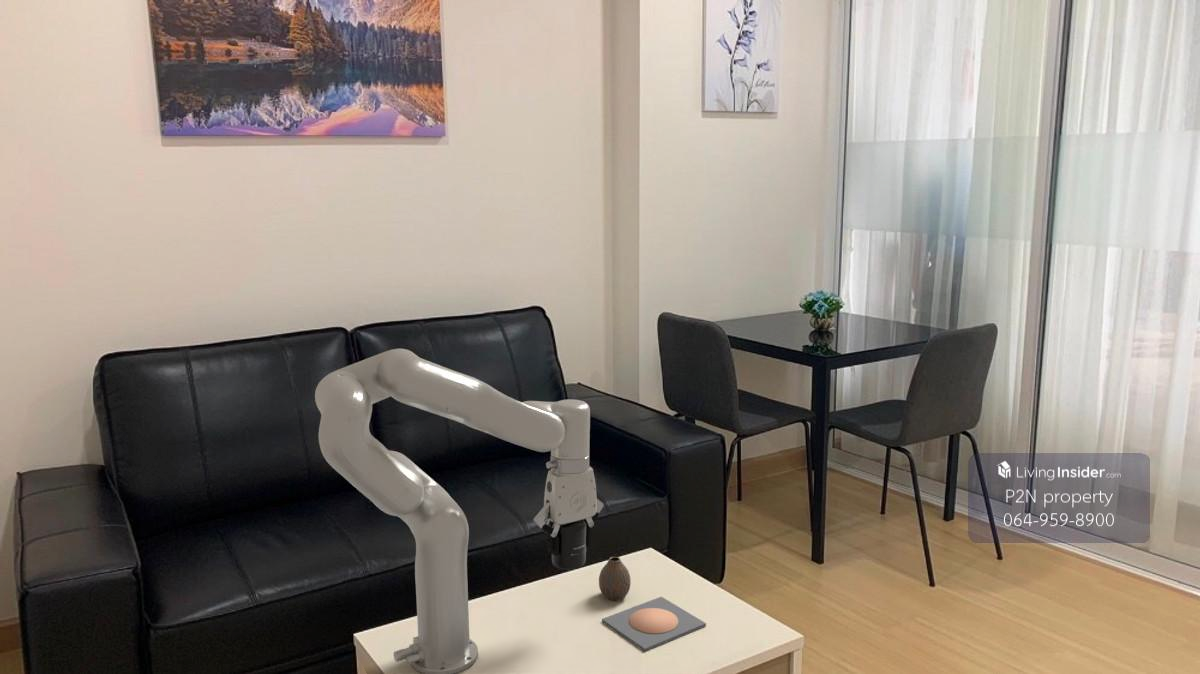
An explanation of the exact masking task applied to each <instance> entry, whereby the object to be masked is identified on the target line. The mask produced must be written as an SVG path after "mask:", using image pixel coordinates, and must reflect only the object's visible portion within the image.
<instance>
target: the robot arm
mask: <svg viewBox="0 0 1200 674" xmlns="http://www.w3.org/2000/svg"><path fill="white" fill-rule="evenodd" d="M390 397H391V398H393V399H394V400H395V401H398V402H399V403H402V404H405V405H407V406H411V407H414V408H416V409H419V410H422V411H426V412H428V413H431V414H435V415H437V416H440V417H443V418H446V419H449V420H452V421H455V422H457V423H460V424H463V425H465V426H467V427H469V428H472V429H474V430H478V431H480V432H483V433H484V434H485V433H486V434H487V435H491V436H492V437H495V438H498V439H501V440H503V441H505V442H509V443H511V444H514V445H517V446H519V447H523V448H526V449H529V450H532V451H536V452H540V453H546V452H550V460H549V461H547V462H546V463H545V466H546V468H547V469H550V470H548V473H547V474H546V475H547V476H546V481H545V487H544V497H543V507H542V508H541V509H540V510H539V512H538V513H537V514H536V515H535V516H534V518H533V522H534V523H535V524H536V525H537V526H538V527H539V528H540V529H541V530H542V531H543V532H544V533H545V534H546V549H547V551H548V553H550V554H551V555H552V554H553V555H555V556H558V555H559V536H557V533H558V530H559V528H560V525H564V524H568V523H572V522H576V521H580V520H583V519H584V520H585V521H586V524H587V530H586V548H588V547H590V546H591V539H592V528H593V527H594V524H595V521H596V520H597V518H598V517H599V514H600V513H601V511H602V510H603V507H604V503H603V501H601V500H600V499H598V498H597V484H596V478H595V474H594V469H593V467H592V466H590V437H591V435H590V431H591V409H590V405H589V404H588V403H587V402H585V401H583V400H580V399H561V400H558V401H539V400H525V401H522V402H521V401H519V400H517V399H514V398H513V397H510V396H508V395H506V394H504V393H503V392H501V391H499V390H497V389H495V388H494V387H492V386H491V385H489V384H488V383H486V382H484V381H482V380H480V379H477V378H476V377H474V376H471V375H468V374H465V373H461V372H459V371H456V370H453V369H450V368H448V367H445V366H442V365H440V364H437V363H434V362H432V361H429V360H426V359H424V358H421V357H419V355H417V354H416V353H414V352H413V351H412V350H409V349H405V348H394V349H393V348H392V349H390V350H386V351H384V352H381V353H377V354H375V355H373V356H370V357H368V358H365V359H363V360H360V361H357V362H354V363H352V364H349V365H347V366H344V367H342V368H338V369H337V370H334V371H331V372H330V373H328V374H327V375H326V376H324V377H323V378H322V379H321V380H320V381H319V382H318V384H317V386H316V388H315V392H314V399H315V400H314V402H315V404H316V407H317V408H318V411H319V412H320V415H321V416H320V422H319V427H318V444H319V448H320V452H321V454H322V456H323V458H324V459H325V461H326V462H327V463H328V464H329V466H331V468H332V469H334V470H335V471H336V472H337V473H338V474H339V475H341V476H342V477H343V478H344V479H345V480H346V481H347V482H348V483H349V484H351V485H352V487H354V488H356V490H357V491H358V492H359V493H361V494H362V495H363V496H364V497H366V498H367V499H369V501H370V502H372V503H373V504H374V505H375V506H376V507H377V508H378V509H379V510H380V511H382V512H383V513H385V514H386V515H389V516H393V517H398V518H400V519H401V520H402V521H403V522H404V523H405V524H406V525H407V527H408V528H409V529H410V531H411V533H412V535H413V537H414V540H415V558H414V559H415V563H414V570H415V571H414V577H415V578H414V581H415V595H416V596H415V597H416V599H415V600H416V618H417V636H414V637H413V640H412V641H413V642H412V643H411V644H409V646H408V647H406V648H402V649H399V650H395V651H394V652H393V659H394V661H395V662H396V663H399V662H401V661H404V660H405V662H406V664H407V665H408V666H409V665H412V667H413V668H414V669H415V670H416V671H418V672H420V673H422V674H457V673H460V672H463V671H465V670H467V669H468V668H470V667H471V666H473V664H474V663H476V661H477V659H478V656H479V649H478V648H479V647H478V645H477V644H476V642H475V641H474V640H472V639H471V638H470V621H469V619H470V618H469V617H470V615H469V613H470V612H469V592H468V591H469V590H468V589H469V588H468V586H469V585H468V565H467V564H468V545H469V538H470V537H469V536H470V531H469V530H470V529H469V523H468V520H467V516H466V515H465V513H464V511H463V510H462V508H461V507H460V506H459V505H458V503H457V502H456V501H455V500H454V499H453V498H452V497H451V496H450V494H449V493H448V492H447V491H446V490H445V489H444V487H442V486H441V485H440V484H439V483H438V482H437V481H435V480H434V479H433V478H432V477H430V476H429V475H428V474H427V473H426V472H425V471H423V470H422V469H421V468H420V467H419V466H418V465H417V464H415V463H414V461H412V460H411V459H410V458H409V457H407V456H406V455H405V454H404V453H401V452H398V451H396V450H395V451H394V450H389V449H388V448H386V446H385V445H384V444H383V443H381V442H380V441H379V440H378V439H377V438H375V437H374V436H373V434H371V430H370V422H371V418H372V413H373V405H374V404H376V403H379V402H380V401H383V400H386V399H388V398H390ZM545 519H548V520H547V522H546V521H545ZM553 524H554V526H553ZM552 526H553V528H552Z"/></svg>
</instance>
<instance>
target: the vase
mask: <svg viewBox="0 0 1200 674" xmlns="http://www.w3.org/2000/svg"><path fill="white" fill-rule="evenodd" d="M631 584H632V583H631V575H630V572H629V569H628V568H627V567H626V565H625V564H624V562H622V560H621V558H620V557H618V556H611V557H609V558H608V560H607V563H606V564H605V565H604V566H603V567H602V568H601V571H600V573H599V576H598V587H599V590H600V592H601V594H602V596H603V597H605V599H607V600H609V601H611V602H612V601H615V602H616V601H621V600H623V599H624V598H625V597H626V596H627V595H628V594H629V592H630V589H631Z"/></svg>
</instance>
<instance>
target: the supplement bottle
mask: <svg viewBox="0 0 1200 674" xmlns="http://www.w3.org/2000/svg"><path fill="white" fill-rule="evenodd" d="M553 526H554V524H553ZM553 526H552V528H553ZM586 530H587V524H586V521H585V520H584V519H583V520H580V521H576V522H572V523H568V524H564V525H560V528H559V530H558V533H557V536H559V555H558V556H555V555H553V554H552V553H551V562H552V565H553V566H554V567H556V568H558V569H560V570H561V569H562V570H564V571H565V570H566V571H567V570H569V571H570V570H577V569H580V568H582V567H584V565H585V564H586V562H587V561H586V560H587V547H586Z"/></svg>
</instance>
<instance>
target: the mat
mask: <svg viewBox="0 0 1200 674" xmlns="http://www.w3.org/2000/svg"><path fill="white" fill-rule="evenodd" d="M601 622H602V623H603V624H605V625H606V626H608V627H609V628H610V629H612V631H615V632H616V633H618V634H619V636H620V635H621V636H622V637H623V638H625V639H626V640H627V641H629V642H631V643H632V644H633V645H634V646H636V647H638V648H639V649H640V650H641V651H643V652H647V651H650V650H652V649H654V648H656V647H660V646H662V645H664V644H666V643H669V642H671V641H674V640H676V639H678V638H681V637H683V636H685V635H688V634H690V633H692V632H695V631H697V630H700V629H703V628H704V627H706V626H707V623H706V622H705V621H703V620H702V619H700V618H697V617H696V616H695V615H693V614H691V613H690V612H687V611H686V610H685V609H683V608H681V607H680V606H678V605H677V604H674V603H673V602H671V601H670V600H668V599H666V598H665V597H664V596H659V597H656V598H654V599H651V600H649V601H646V602H643V603H641V604H638V605H635V606H633V607H630V608H628V609H625V610H621V611H620V612H617V613H614V614H611V615H609V616H605V617H604V618H601Z"/></svg>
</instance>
